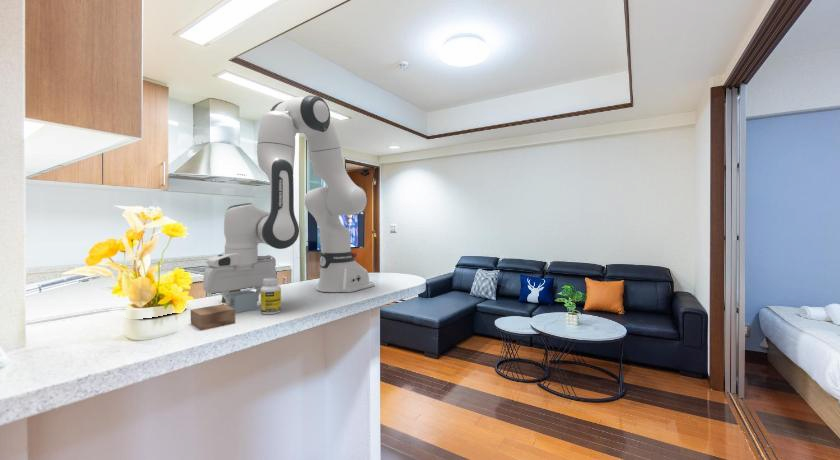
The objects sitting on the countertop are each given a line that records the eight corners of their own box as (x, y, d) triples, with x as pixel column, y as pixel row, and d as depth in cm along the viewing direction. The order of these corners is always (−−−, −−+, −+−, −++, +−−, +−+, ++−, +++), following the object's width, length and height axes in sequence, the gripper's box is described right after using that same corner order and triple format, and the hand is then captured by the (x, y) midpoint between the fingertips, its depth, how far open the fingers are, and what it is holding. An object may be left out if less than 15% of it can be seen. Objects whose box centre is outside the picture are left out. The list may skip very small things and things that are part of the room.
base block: (224, 318, 99) (223, 304, 99) (235, 324, 94) (234, 309, 94) (190, 324, 93) (190, 309, 93) (200, 331, 88) (200, 315, 88)
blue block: (248, 305, 112) (248, 289, 112) (257, 308, 108) (256, 292, 108) (228, 309, 108) (227, 292, 108) (236, 312, 104) (235, 295, 103)
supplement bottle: (264, 316, 100) (263, 281, 100) (258, 312, 104) (257, 278, 104) (283, 312, 104) (283, 279, 103) (277, 309, 108) (277, 276, 107)
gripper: (270, 254, 117) (271, 296, 118) (200, 259, 102) (201, 308, 102) (280, 255, 113) (280, 299, 113) (207, 261, 98) (209, 312, 98)
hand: (242, 303), depth 108 cm, fingers closed on blue block, 6 cm apart
